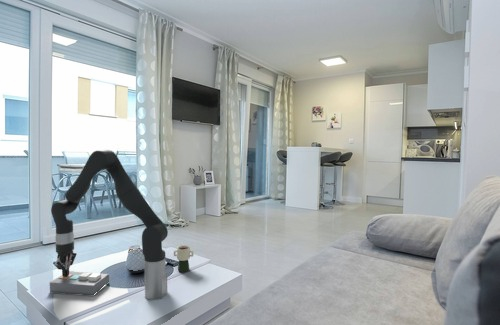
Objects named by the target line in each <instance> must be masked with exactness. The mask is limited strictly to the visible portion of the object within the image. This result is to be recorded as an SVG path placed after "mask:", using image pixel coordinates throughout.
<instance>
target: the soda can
mask: <svg viewBox="0 0 500 325" xmlns="http://www.w3.org/2000/svg"><path fill="white" fill-rule="evenodd" d="M128 249H129V250H128V252H127V254H128V253H129V251H130V250H133V249H141V250H142V248H141V246H140V245H132V246H129V248H128Z"/></svg>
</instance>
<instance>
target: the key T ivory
mask: <svg viewBox="0 0 500 325" xmlns="http://www.w3.org/2000/svg"><path fill="white" fill-rule="evenodd" d="M92 273H93V274H92V275H90V276H89V277H88V281H95V282H96V281H97V280H98V279H100V278H101V274H98V272H92Z"/></svg>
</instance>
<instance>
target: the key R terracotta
mask: <svg viewBox="0 0 500 325" xmlns="http://www.w3.org/2000/svg"><path fill="white" fill-rule="evenodd" d="M60 276H61V275H60ZM60 276H59V277H60ZM72 276H73V275H71V274H69V275H68V276H67V277H63V276H61V277H60V279H66V280H67V279H68V278H70V277H72Z"/></svg>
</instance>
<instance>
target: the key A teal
mask: <svg viewBox="0 0 500 325" xmlns="http://www.w3.org/2000/svg"><path fill="white" fill-rule="evenodd" d="M79 276H80V275H74V276H72V277H70V278H69V280H77V279H79Z"/></svg>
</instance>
